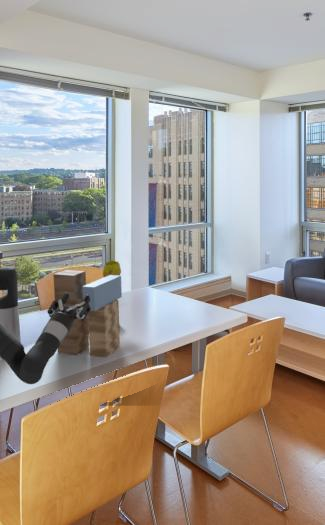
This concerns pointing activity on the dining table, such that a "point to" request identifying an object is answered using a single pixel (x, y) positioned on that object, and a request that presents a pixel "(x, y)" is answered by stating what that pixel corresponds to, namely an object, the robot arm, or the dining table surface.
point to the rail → (103, 291)
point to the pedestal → (78, 333)
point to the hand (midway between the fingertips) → (78, 295)
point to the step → (104, 330)
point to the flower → (111, 269)
